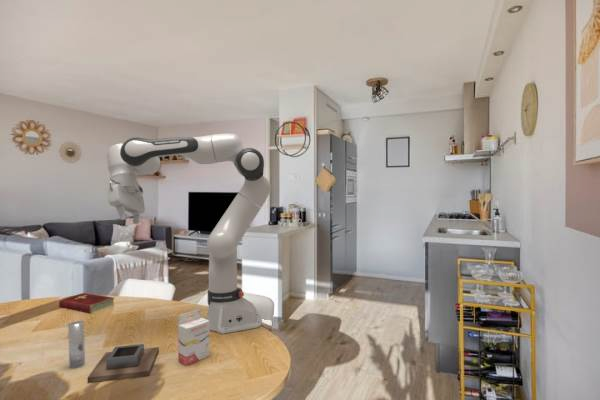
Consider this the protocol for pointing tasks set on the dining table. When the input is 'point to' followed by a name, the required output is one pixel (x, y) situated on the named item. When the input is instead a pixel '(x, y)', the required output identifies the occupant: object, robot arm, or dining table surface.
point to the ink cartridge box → (192, 337)
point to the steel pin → (76, 344)
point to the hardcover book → (86, 302)
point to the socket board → (123, 373)
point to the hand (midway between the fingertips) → (130, 221)
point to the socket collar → (125, 356)
